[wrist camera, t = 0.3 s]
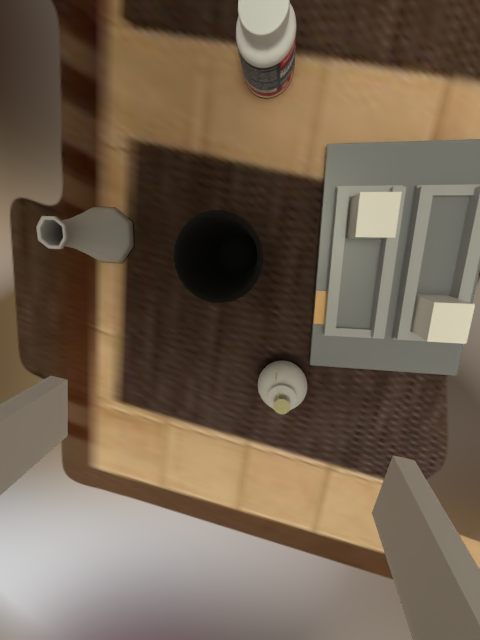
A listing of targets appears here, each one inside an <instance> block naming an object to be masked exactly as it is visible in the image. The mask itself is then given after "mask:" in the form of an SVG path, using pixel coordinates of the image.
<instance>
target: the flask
mask: <svg viewBox="0 0 480 640" xmlns="http://www.w3.org/2000/svg"><path fill="white" fill-rule="evenodd" d="M36 228H37V236H38V240H39V241H40V242H41V243H42V244H43V245H45V246H46V247H47V248H50V249H63V248H64V246H67V247H71V248H75V249H77V250H79V251H81V252H84V253H86V254H88V255H90V256H91V257H93V258H95V259H97V260H99V261H101V262H108V263H123V262H124V260H125V259H126V257H127V256H128V254H129V253H130V251H131V249H132V248H133V246H134V239H133V222H132V221H130V220H129V219H128V218H127V217H126V216H124V215H123V214H122V213H121V212H120V211H118V210H117V209H116V208H115V207H93V208H90V209H89V210H87V211H85V212H83V213H82V214H79V215H77V216H75V217H73V218H71V219H66V220H60V219H59V218H58V217H56V216H42V217H41V219H40V221H39V222H38V224H37V226H36Z"/></svg>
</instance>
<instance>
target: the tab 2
mask: <svg viewBox="0 0 480 640" xmlns="http://www.w3.org/2000/svg"><path fill="white" fill-rule="evenodd" d="M474 307H475V304H473V303H470V302H467V301H464V300H461V299H458V298H454V297H451V296H448V295H425V294H416V299H415V305H414V311H413V317H412V323H411V329H410V330H411V331H412V332H414V333H415V334H417V335H418V336H420V337H421V338H423V339H424V340H426V341H427V342H443V343H461V344H466V343H467V339H468V334H469V330H470V325H471V320H472V316H473V312H474Z"/></svg>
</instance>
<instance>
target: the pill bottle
mask: <svg viewBox="0 0 480 640" xmlns="http://www.w3.org/2000/svg"><path fill="white" fill-rule="evenodd" d="M238 13H239V17H238V20H237V25H236V41H237V47H238V51H239V55H240V59H241V63H242V68H243V73H244V77H245V81H246V83H247V86H248V87H249V89H250V90H251V91H252V92H253V93H254V94H256V95H257V96H260V97H263V98H270V97H274V96H277V95H278V94H280V93H281V92H283V91H284V90H285V89H286V87H287V86H288V85H289V83H290V81H291V79H292V76H293V72H294V64H295V42H296V18H295V13H294V10H293V8H292V6H291V4H290V0H239V1H238Z"/></svg>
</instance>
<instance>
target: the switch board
mask: <svg viewBox="0 0 480 640" xmlns="http://www.w3.org/2000/svg"><path fill="white" fill-rule="evenodd" d="M360 192H402V194H401V201H400V208H399V215H398V222H397V229H396V236H395V238H381V239H369V238H345V233H346V223H347V213H348V203H349V199H351V198H352V197H354V196H355V195H357V194H358V193H360ZM479 271H480V139H471V140H439V141H408V142H376V143H344V144H328V145H327V147H326V157H325V169H324V182H323V194H322V207H321V220H320V232H319V245H318V257H317V270H316V282H315V295H314V308H313V320H312V333H311V345H310V358H309V363H310V365H316V366H330V367H344V368H358V369H372V370H386V371H400V372H414V373H429V374H443V375H457V371H458V367H459V362H460V358H461V353H462V349H463V344H461V343H443V342H427V341H426V340H424V339H423V338H421V337H420V336H418V335H417V334H415V333H414V332H412V331H411V330H410V329H411V323H412V317H413V311H414V305H415V299H416V294H425V295H448V296H451V297H454V298H458V299H461V300H464V301H467V302H470V303H473V298H474V294H475V289H476V285H477V280H478V275H479Z"/></svg>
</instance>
